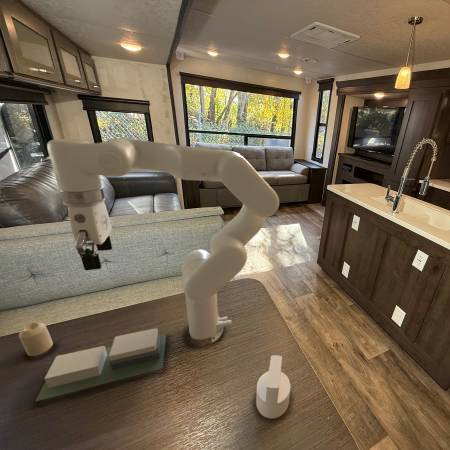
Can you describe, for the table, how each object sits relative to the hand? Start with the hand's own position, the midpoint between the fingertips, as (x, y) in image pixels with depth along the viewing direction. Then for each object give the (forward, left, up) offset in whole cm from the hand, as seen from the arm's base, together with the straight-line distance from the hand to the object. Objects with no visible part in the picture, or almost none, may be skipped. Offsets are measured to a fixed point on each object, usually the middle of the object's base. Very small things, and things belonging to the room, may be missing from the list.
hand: (99, 258), depth 64 cm
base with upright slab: (-40, +29, -34) cm, 60 cm away
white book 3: (-5, +4, -28) cm, 29 cm away
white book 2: (+9, +4, -32) cm, 34 cm away
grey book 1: (-5, +4, -30) cm, 31 cm away
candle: (+22, -8, -34) cm, 42 cm away
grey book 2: (-5, +4, -32) cm, 33 cm away
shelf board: (+2, +4, -34) cm, 34 cm away
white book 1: (+9, +4, -31) cm, 32 cm away
